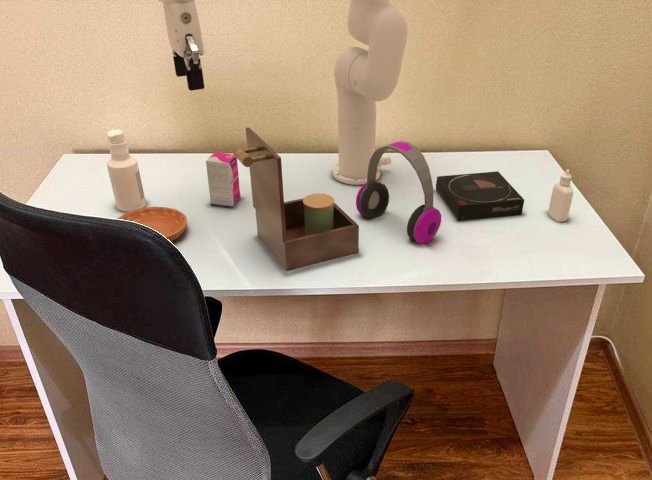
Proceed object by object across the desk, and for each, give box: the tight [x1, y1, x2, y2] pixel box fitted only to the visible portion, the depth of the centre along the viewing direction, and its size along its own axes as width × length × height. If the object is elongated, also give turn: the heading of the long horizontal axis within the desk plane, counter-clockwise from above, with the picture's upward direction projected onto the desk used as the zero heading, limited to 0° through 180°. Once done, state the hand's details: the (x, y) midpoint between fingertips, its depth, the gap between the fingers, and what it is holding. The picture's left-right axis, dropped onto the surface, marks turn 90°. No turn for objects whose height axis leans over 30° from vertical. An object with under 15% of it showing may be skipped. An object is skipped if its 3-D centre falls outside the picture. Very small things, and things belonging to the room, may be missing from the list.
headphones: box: [355, 140, 442, 245], centre depth 147 cm, size 21×9×20 cm, turn 45°
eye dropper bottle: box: [547, 169, 574, 223], centre depth 156 cm, size 4×6×12 cm
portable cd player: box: [435, 170, 525, 222], centre depth 164 cm, size 16×17×4 cm
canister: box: [303, 193, 335, 236], centre depth 143 cm, size 7×7×10 cm
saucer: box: [117, 206, 188, 243], centre depth 148 cm, size 16×16×3 cm
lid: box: [232, 126, 286, 241], centre depth 131 cm, size 17×17×6 cm
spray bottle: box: [106, 129, 147, 212], centre depth 153 cm, size 7×7×18 cm
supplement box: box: [205, 151, 241, 209], centre depth 158 cm, size 6×6×12 cm
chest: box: [254, 197, 360, 272], centre depth 144 cm, size 17×17×7 cm
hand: (190, 82), depth 137 cm, fingers open, 9 cm apart
